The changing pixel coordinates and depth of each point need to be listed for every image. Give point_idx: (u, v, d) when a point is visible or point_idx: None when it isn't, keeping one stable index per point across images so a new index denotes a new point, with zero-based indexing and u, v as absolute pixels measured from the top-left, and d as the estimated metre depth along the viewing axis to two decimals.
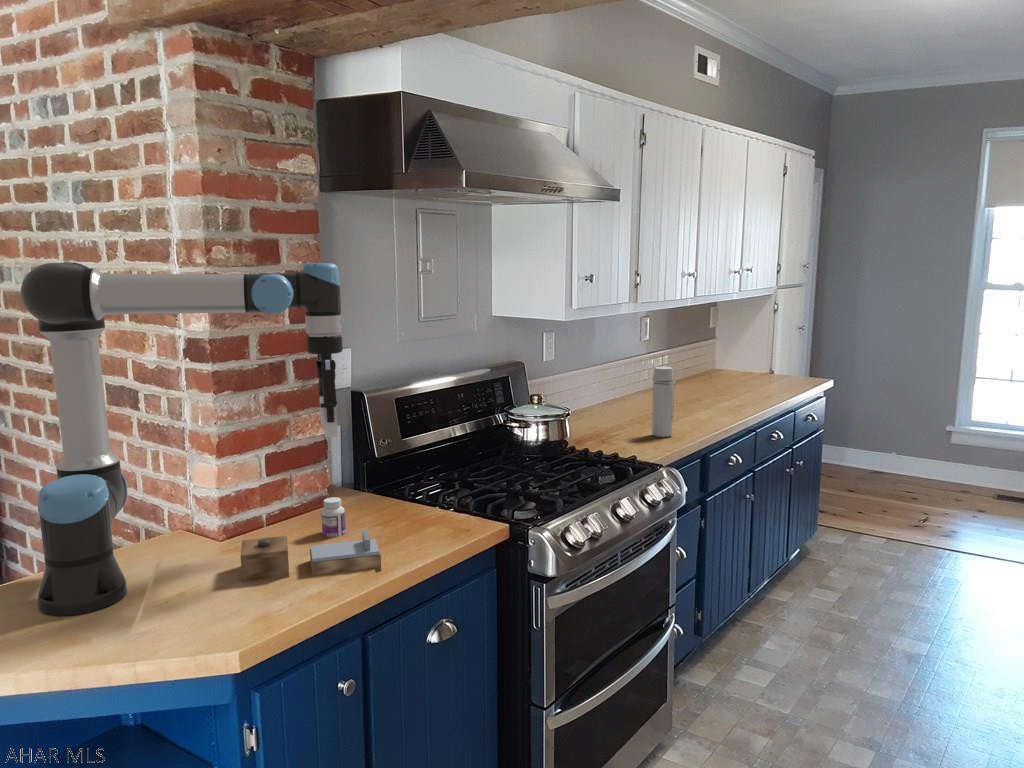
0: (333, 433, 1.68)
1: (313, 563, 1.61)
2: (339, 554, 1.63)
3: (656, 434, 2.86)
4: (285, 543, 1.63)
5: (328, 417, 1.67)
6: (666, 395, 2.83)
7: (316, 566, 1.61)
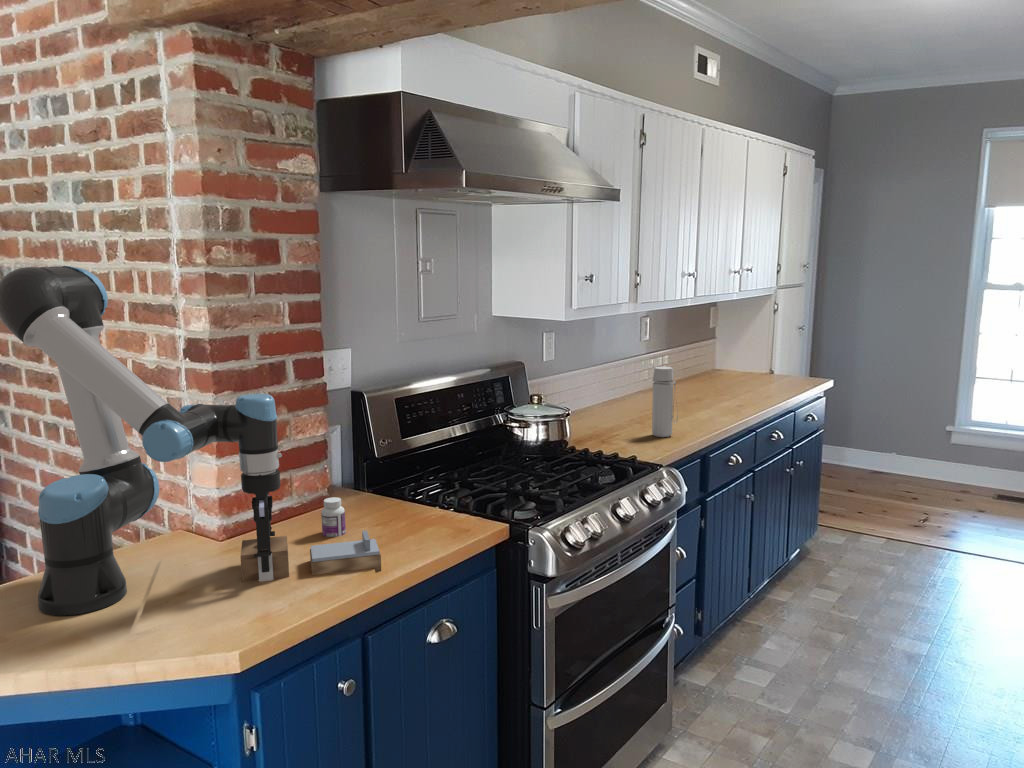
0: None
1: (313, 563, 1.61)
2: (339, 554, 1.63)
3: (656, 434, 2.86)
4: (285, 543, 1.63)
5: (262, 567, 1.56)
6: (666, 395, 2.83)
7: (316, 566, 1.61)
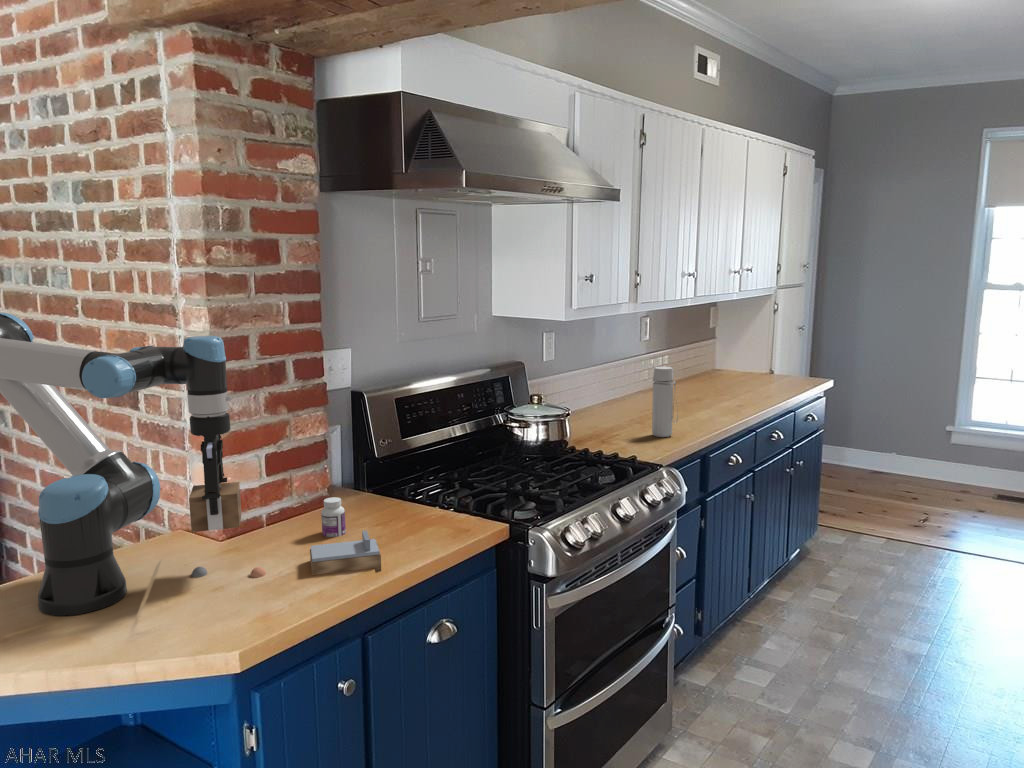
0: (218, 525, 1.57)
1: (313, 563, 1.61)
2: (339, 554, 1.63)
3: (656, 434, 2.86)
4: (236, 488, 1.62)
5: (211, 509, 1.55)
6: (666, 395, 2.83)
7: (316, 566, 1.61)
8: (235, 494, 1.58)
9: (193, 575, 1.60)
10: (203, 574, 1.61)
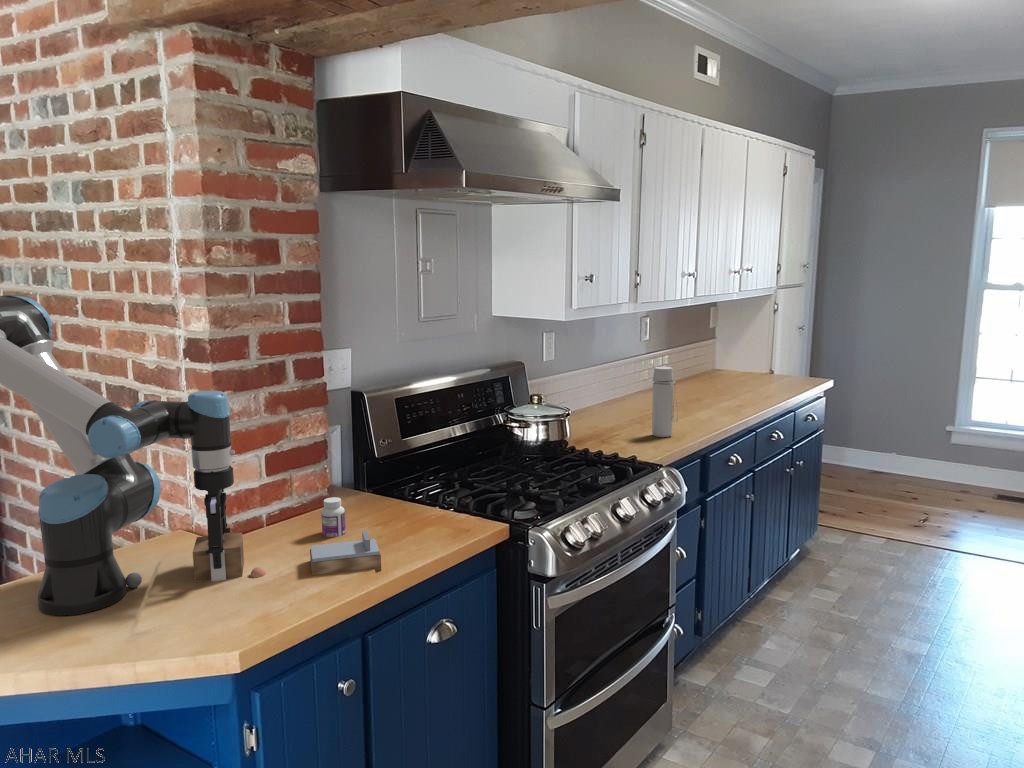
0: (221, 579, 1.59)
1: (313, 563, 1.61)
2: (339, 554, 1.63)
3: (656, 434, 2.86)
4: (239, 540, 1.63)
5: (214, 563, 1.57)
6: (666, 395, 2.83)
7: (316, 566, 1.61)
8: (238, 547, 1.59)
9: (134, 586, 1.58)
10: (128, 579, 1.58)
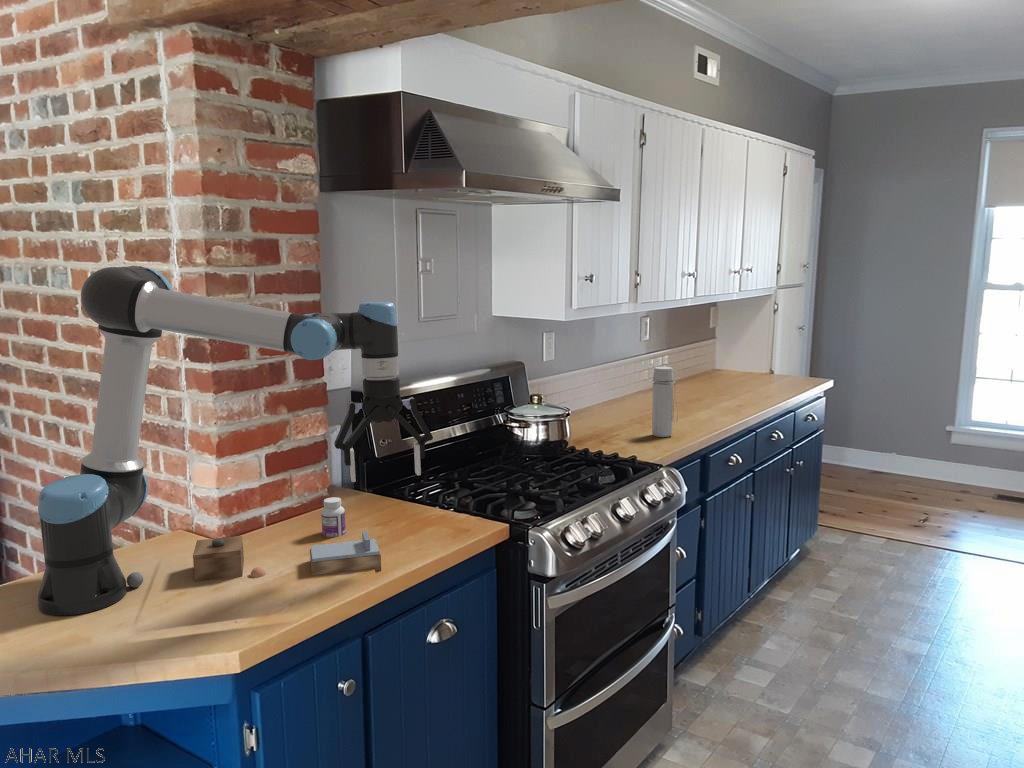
0: (351, 477, 1.64)
1: (313, 563, 1.61)
2: (339, 554, 1.63)
3: (656, 434, 2.86)
4: (239, 543, 1.63)
5: (344, 459, 1.64)
6: (666, 395, 2.83)
7: (316, 566, 1.61)
8: (238, 551, 1.60)
9: (134, 586, 1.58)
10: (130, 578, 1.58)
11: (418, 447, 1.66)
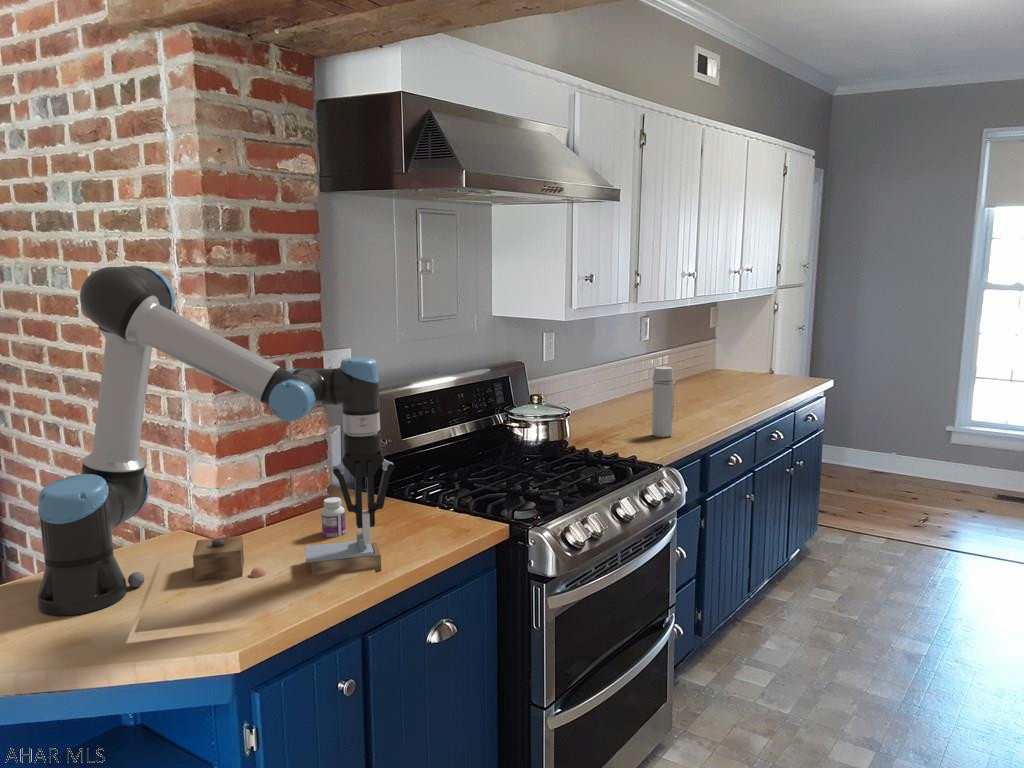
0: None
1: (313, 563, 1.61)
2: (333, 555, 1.62)
3: (656, 434, 2.86)
4: (239, 543, 1.63)
5: (356, 521, 1.66)
6: (666, 395, 2.83)
7: (316, 566, 1.61)
8: (238, 551, 1.60)
9: (135, 586, 1.58)
10: (132, 577, 1.58)
11: (368, 516, 1.65)
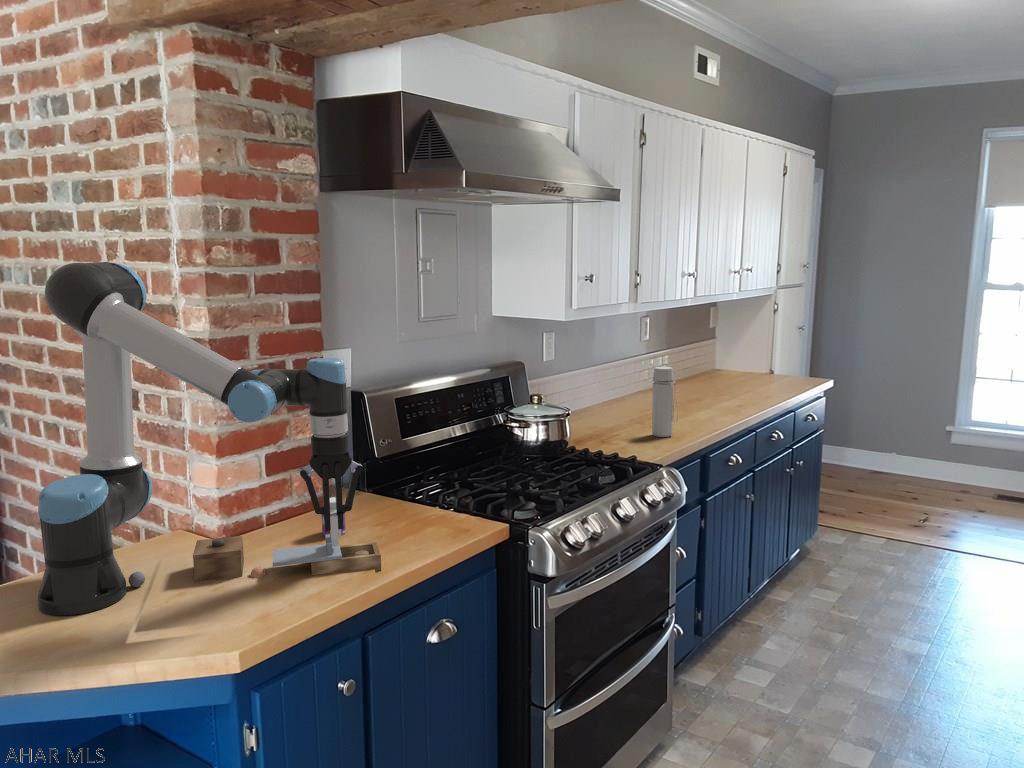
0: None
1: (313, 563, 1.61)
2: (300, 558, 1.61)
3: (656, 434, 2.86)
4: (239, 543, 1.63)
5: (324, 523, 1.64)
6: (666, 395, 2.83)
7: (316, 566, 1.61)
8: (238, 551, 1.60)
9: (135, 585, 1.58)
10: (133, 576, 1.58)
11: (336, 518, 1.63)
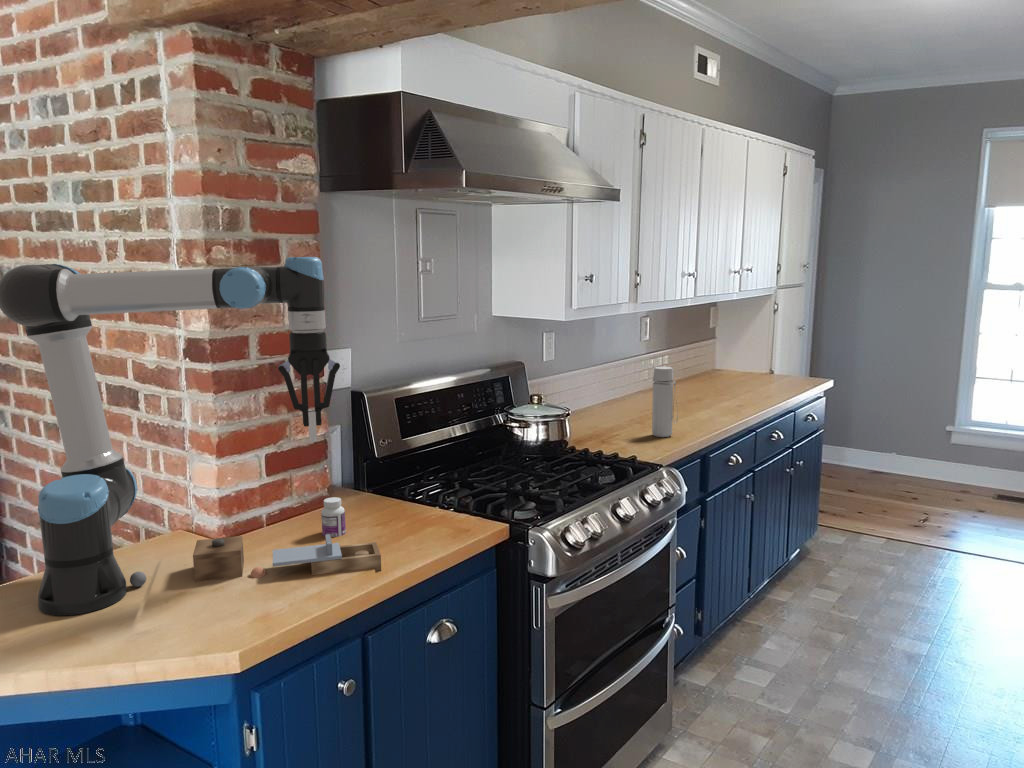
0: (309, 438, 1.69)
1: (313, 563, 1.61)
2: (300, 558, 1.61)
3: (656, 434, 2.86)
4: (239, 543, 1.63)
5: None
6: (666, 395, 2.83)
7: (316, 566, 1.61)
8: (238, 551, 1.60)
9: (136, 585, 1.58)
10: (135, 575, 1.58)
11: (314, 414, 1.68)
